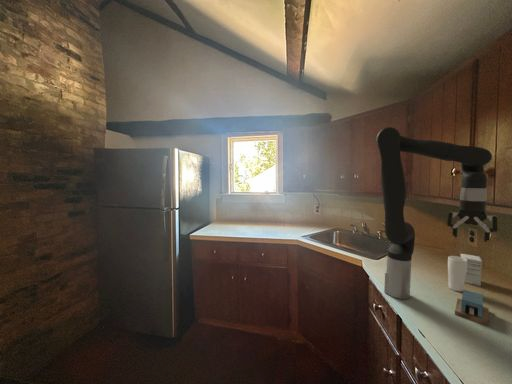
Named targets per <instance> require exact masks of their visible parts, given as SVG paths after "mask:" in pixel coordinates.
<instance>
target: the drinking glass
mask: <svg viewBox="0 0 512 384" xmlns="http://www.w3.org/2000/svg"><path fill="white" fill-rule="evenodd" d="M467 261H468V260H467V259H465V258H462V257H460V256H458V255H448V256H447V279H448V284H447V287H448V288H449V289H450V290H452V291H454V292H463V291H464V290H465V278H466V272H467V264H468V262H467Z"/></svg>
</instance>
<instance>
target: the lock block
mask: <svg viewBox="0 0 512 384" xmlns="http://www.w3.org/2000/svg"><path fill="white" fill-rule="evenodd" d="M461 299H462V305H461V312H464V313H465V309H466V304H467V305H470V306H473V307H477V308H478V317H479V318H482V310H483V306H484V294H481V293H478V292H473V291H470V290H467V289H464V290H463V291H462V297H461Z"/></svg>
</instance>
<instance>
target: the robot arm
mask: <svg viewBox="0 0 512 384" xmlns="http://www.w3.org/2000/svg"><path fill="white" fill-rule="evenodd" d="M375 138H376V139H375V144H376V147H377V148H378V150H379V155H380V162H381V163H380V164H381V165H380V185H381V193H382V200H383V208H384V233H385V237H386V239H387V240H388V241H389V242H390V245H389V246H388V248H387V251H386V252H387V253H386V271H385V272H384V289H383V290H384V291H383V293H386V294H388V295H389V296H390V297H392V298H395V299H397V300H398V299H399V300H407V299H410V297H411V282H412V280H411V278H412V261H413V260H412V257H413V253H414V249H415V240H416V233H415V228H414V227H413V225H412V224H411V223H410V222H408V221H405V217H404V215H405V214H404V211H405V209H404V208H405V204H406V198H407V184H406V183H407V182H406V177H405V171H404V167H403V163H402V158H401V157H402V156H401V153H402V152H403V153H408V154H413V155H419V156H422V157H423V156H424V157H427V158H433V159H436V160H441V161H446V162H457V163H460V167H461V175H462V177H461V178H462V179H461V189H460V194H459V195H460V196H459V209H458V212H454V211H449V212H448V214H447V215H448V216H447V223H446V226H448V227H450V228H452V236H454V238H458V232H459V231H458V229H459V228H458V227H460V226H461V225H463V223H464V224H465V225H473V226H480V227H481V228H482V230H484V237H483V242H486V243H487V242H488V241H490V237H491V236H490V235H491V233H492V232H495V233H496V232H498V216H497V215H495V214H494V215H487V214H486V211H487V199H488V193H487V184H488V177H487V174H485V171H484V170H485V169H484V168H485V167H484V166H486V165H487V164H489V163H490V162H491V160H492V158H493V154H492V153H491V151H490V150H488V149H487V148H484V147H480V146H479V147H478V146H470V145H462V144H461V145H460V144H456V143H452V142H445V141H440V140H432V139H431V140H430V139H420V138H419V139H417V138H411V137H406V136H403V135H401V133H400V132H399V130H398V129H397V128H395V127H392V126H389V127H388V126H387V127H384V128H383V129H381V130H380V131H379V132H378V134H377V135H376V137H375ZM483 171H484V172H483ZM456 216H457V217H458V218H459V220H458V221H457V222H455V223H453V218H455V217H456ZM487 219H488V220H489V221H490V222H491V225H492V227H490V228H489V227H488V226H487V224H486V223H485V222H484V221H486V220H487Z"/></svg>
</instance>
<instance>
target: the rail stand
mask: <svg viewBox="0 0 512 384" xmlns="http://www.w3.org/2000/svg"><path fill="white" fill-rule="evenodd" d="M455 305H456V306H455V309H454V315H456V316H459V317H461V318H464V319H467V320H471V321H474V322H477V323H479V324H482V325H485V326H489V324H490V323H489V322H490V321H489V318H490V317H489V316H490V314H489V313H490V311H489V307H488V306H485V305H483V310H482V318H479V317H478V308H477V307H473V306H470V305H467V304H466V309H465V313H464V312H461V305H462V298H457V300H456V304H455Z"/></svg>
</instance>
